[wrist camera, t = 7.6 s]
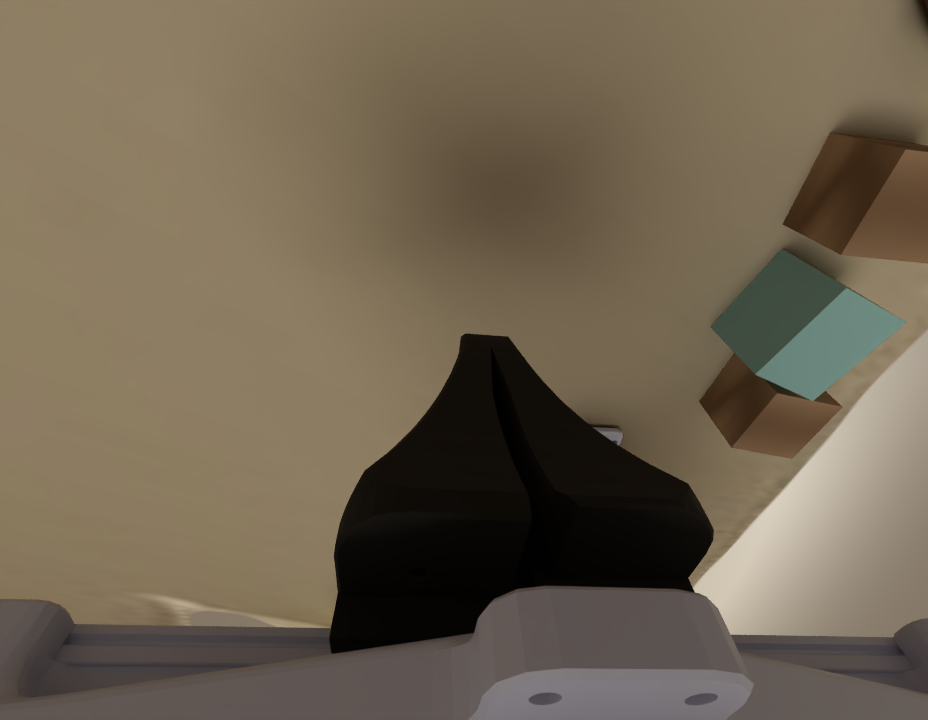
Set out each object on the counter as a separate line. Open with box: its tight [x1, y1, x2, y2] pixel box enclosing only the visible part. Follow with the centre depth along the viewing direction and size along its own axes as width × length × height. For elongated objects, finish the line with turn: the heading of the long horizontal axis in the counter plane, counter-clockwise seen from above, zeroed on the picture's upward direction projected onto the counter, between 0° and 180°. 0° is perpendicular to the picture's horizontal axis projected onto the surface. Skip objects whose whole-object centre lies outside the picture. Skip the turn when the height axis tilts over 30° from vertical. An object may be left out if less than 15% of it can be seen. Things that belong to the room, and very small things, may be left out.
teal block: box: [711, 249, 907, 401], centre depth 22 cm, size 5×4×4 cm
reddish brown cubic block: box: [699, 353, 842, 458], centre depth 26 cm, size 4×4×4 cm
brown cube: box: [783, 133, 928, 263], centre depth 19 cm, size 4×4×4 cm
